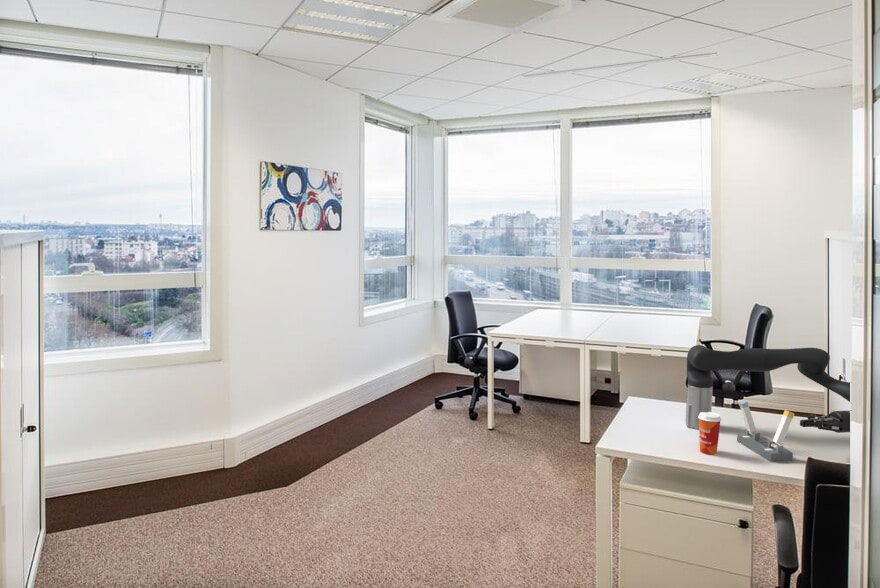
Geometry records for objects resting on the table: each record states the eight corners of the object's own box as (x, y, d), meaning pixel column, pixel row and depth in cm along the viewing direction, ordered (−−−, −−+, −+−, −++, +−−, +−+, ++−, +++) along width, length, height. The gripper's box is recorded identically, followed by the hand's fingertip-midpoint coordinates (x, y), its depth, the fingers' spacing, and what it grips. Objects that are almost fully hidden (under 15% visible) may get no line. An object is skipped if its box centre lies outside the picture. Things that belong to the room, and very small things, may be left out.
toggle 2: (775, 449, 204) (790, 412, 203) (769, 445, 208) (783, 409, 207) (780, 451, 205) (795, 414, 204) (774, 447, 208) (789, 411, 207)
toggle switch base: (770, 462, 203) (771, 447, 202) (736, 441, 223) (737, 428, 222) (792, 461, 203) (793, 446, 203) (756, 440, 223) (757, 427, 223)
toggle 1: (753, 438, 217) (742, 404, 216) (747, 434, 221) (737, 401, 219) (759, 435, 218) (748, 402, 216) (753, 432, 221) (743, 399, 219)
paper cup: (692, 448, 216) (694, 411, 214) (712, 447, 217) (714, 410, 215) (703, 456, 208) (705, 418, 207) (724, 455, 209) (726, 417, 207)
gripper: (861, 438, 201) (814, 440, 200) (832, 425, 214) (788, 427, 213) (863, 417, 200) (815, 419, 199) (834, 405, 214) (789, 407, 212)
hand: (801, 423), depth 206 cm, fingers closed
